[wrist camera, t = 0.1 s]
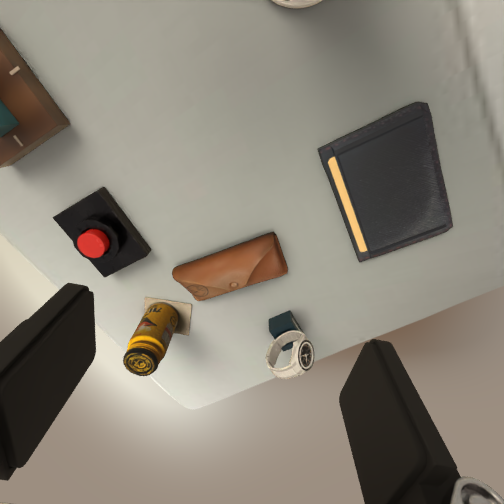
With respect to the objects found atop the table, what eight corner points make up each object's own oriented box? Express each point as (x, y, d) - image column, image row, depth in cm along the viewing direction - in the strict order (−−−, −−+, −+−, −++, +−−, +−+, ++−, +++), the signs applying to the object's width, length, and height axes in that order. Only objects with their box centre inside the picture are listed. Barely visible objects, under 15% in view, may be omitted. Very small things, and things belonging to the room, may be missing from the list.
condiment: (145, 296, 55) (116, 344, 44) (191, 303, 55) (174, 353, 44) (145, 327, 58) (118, 379, 47) (189, 334, 58) (172, 386, 48)
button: (77, 235, 46) (71, 240, 44) (97, 224, 45) (91, 228, 43) (95, 256, 47) (89, 262, 46) (115, 246, 46) (110, 251, 45)
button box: (60, 212, 48) (44, 222, 44) (104, 186, 46) (90, 193, 42) (110, 271, 52) (99, 283, 49) (151, 249, 50) (143, 261, 47)
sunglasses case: (196, 304, 54) (179, 310, 48) (185, 267, 55) (167, 268, 49) (291, 272, 51) (287, 273, 44) (277, 233, 52) (271, 228, 45)
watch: (312, 327, 57) (322, 375, 47) (274, 342, 58) (276, 391, 49) (299, 306, 54) (307, 351, 45) (260, 322, 56) (259, 369, 47)
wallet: (458, 233, 45) (357, 267, 48) (451, 228, 47) (354, 262, 50) (436, 95, 37) (318, 147, 40) (429, 95, 39) (316, 145, 42)
